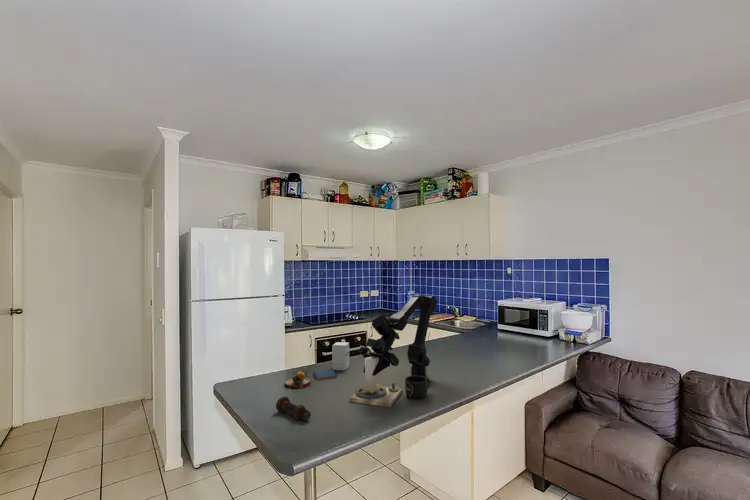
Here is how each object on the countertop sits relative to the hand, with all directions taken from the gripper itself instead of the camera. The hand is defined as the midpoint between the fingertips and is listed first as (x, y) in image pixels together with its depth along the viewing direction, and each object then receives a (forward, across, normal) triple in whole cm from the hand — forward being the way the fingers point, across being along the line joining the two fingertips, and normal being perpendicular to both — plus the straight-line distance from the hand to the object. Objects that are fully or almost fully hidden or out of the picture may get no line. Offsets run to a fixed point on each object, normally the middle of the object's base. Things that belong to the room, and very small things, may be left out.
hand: (368, 374), depth 147 cm
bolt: (+28, -9, -14) cm, 33 cm away
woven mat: (+3, -36, +11) cm, 38 cm away
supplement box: (-7, -39, +21) cm, 45 cm away
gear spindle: (+4, 0, +6) cm, 7 cm away
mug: (-4, +13, +18) cm, 23 cm away
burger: (+14, -36, 0) cm, 38 cm away
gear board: (+5, +2, +9) cm, 10 cm away
